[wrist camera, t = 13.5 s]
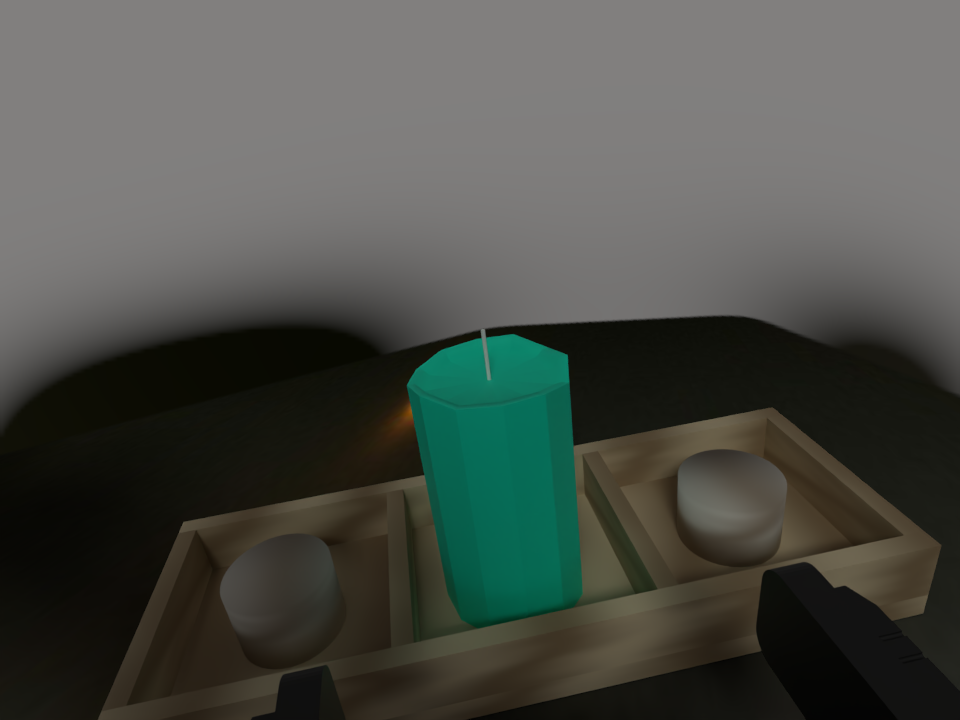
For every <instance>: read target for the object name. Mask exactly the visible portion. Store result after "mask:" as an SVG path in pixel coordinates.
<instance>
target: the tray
mask: <svg viewBox="0 0 960 720" xmlns="http://www.w3.org/2000/svg"><path fill="white" fill-rule="evenodd" d="M573 447H574V462H575V477H576V492H577V508H578V523H579V538H580V553H581V569H582V587H583V594H582V596H581V597H580V599H579V600H578V602H577V603H576V605H575V606H574V608H571V609H566V610H561V611H557V612H552V613H548V614H543V615H539V616H534V617H529V618H525V619H520V620H516V621H511V622H507V623H502V624H498V625H493V626H488V627H484V628H479V629H478V628H476V627H474V626H472V625H470V624H468V623H466V622H464V621H462V620H461V618H460V616H459V615H458V613H457V611H456V609H455V607H454V605H453V603H452V601H451V599H450V597H449V596H448V592H447V587H446V582H445V577H444V572H443V567H442V562H441V557H440V552H439V546H438V541H437V536H436V531H435V526H434V521H433V516H432V511H431V506H430V501H429V495H428V490H427V485H426V480H425V475H423V476H418V477H413V478H407V479H402V480H397V481H392V482H387V483H382V484H377V485H371V486H366V487H361V488H356V489H351V490H346V491H341V492H335V493H330V494H325V495H320V496H315V497H310V498H305V499H300V500H294V501H289V502H284V503H279V504H274V505H269V506H264V507H258V508H253V509H248V510H243V511H238V512H233V513H228V514H222V515H217V516H212V517H207V518H202V519H197V520H192V521H186V522H183V524H182V527H181V529H180V531H179V534H178V536H177V538H176V541H175V543H174V545H173V547H172V550H171V552H170V554H169V557H168V559H167V561H166V564H165V566H164V568H163V571H162V573H161V575H160V577H159V580H158V582H157V584H156V587H155V589H154V591H153V594H152V596H151V598H150V601H149V603H148V605H147V607H146V610H145V612H144V614H143V617H142V619H141V621H140V624H139V626H138V628H137V631H136V633H135V635H134V637H133V640H132V642H131V644H130V647H129V649H128V651H127V654H126V656H125V658H124V661H123V663H122V665H121V667H120V670H119V672H118V674H117V677H116V679H115V681H114V684H113V686H112V688H111V691H110V693H109V695H108V697H107V700H106V702H105V704H104V707H103V709H102V711H101V714H100V716H99V718H98V720H251V718H252V717H255V716H259V715H264V714H268V713H272V712H275V709H276V702H277V695H278V688H279V683H280V679H281V677H282V675H284V674H287V673H291V672H296V671H301V670H305V669H310V668H314V667H319V666H323V665H327V666H328V667H329V669H330V672H331V675H332V678H333V681H334V685H335V688H336V691H337V694H338V697H339V700H340V703H341V706H342V709H343V712H344V715H345V719H346V720H467V719H471V718H476V717H480V716H484V715H489V714H493V713H497V712H501V711H506V710H510V709H514V708H519V707H523V706H527V705H531V704H536V703H540V702H544V701H549V700H553V699H557V698H562V697H566V696H570V695H574V694H579V693H583V692H587V691H592V690H596V689H600V688H605V687H609V686H613V685H617V684H622V683H626V682H630V681H635V680H639V679H643V678H648V677H652V676H656V675H660V674H665V673H669V672H673V671H678V670H682V669H686V668H691V667H695V666H699V665H703V664H708V663H712V662H716V661H721V660H725V659H729V658H733V657H738V656H742V655H746V654H751V653H755V652H759V651H761V648H760V645H759V642H758V638H757V633H756V622H757V614H758V606H759V598H760V590H761V582H762V576H763V573H764V572H765V571H766V570H769V569H773V568H778V567H782V566H787V565H792V564H796V563H801V562H807V563H810V564H812V565H813V566H814V567H815V568H816V569H817V570H818V571H819V572H820V573H821V574H822V575H823V576H824V577H825V578H826V579H827V581H828V582H829V583H830V584H831V585H832V586H833V587H834V588H836V587H840V586H847V587H849V588H850V589H852V590H853V591H855V592H857V593H858V594H860V595H861V596H863V597H865V598H866V599H868V600H869V601H871V602H873V603H874V604H876V605H877V606H878V607H879V608H880V609H881V610H882V611H883V612H884V613H885V614H886V615H887V616H888V617H889V618H890V619H891V620H892V621H893V620H897V619H901V618H905V617H910V616H914V615H918V614H923V612H924V608H925V604H926V601H927V597H928V593H929V589H930V586H931V582H932V578H933V575H934V571H935V567H936V563H937V560H938V556H939V552H940V548H941V545H940V544H939V543H938V542H937V541H935V540H934V539H933V538H932V537H930V536H929V535H928V534H927V533H926V532H924V531H923V530H922V529H921V528H919V527H918V526H917V525H916V524H915V523H913V522H912V521H911V520H910V519H908V518H907V517H906V516H905V515H903V514H902V513H901V512H900V511H899V510H897V509H896V508H895V507H894V506H892V505H891V504H890V503H889V502H888V501H886V500H885V499H884V498H883V497H881V496H880V495H879V494H878V493H877V492H875V491H874V490H873V489H872V488H870V487H869V486H868V485H867V484H866V483H864V482H863V481H862V480H861V479H859V478H858V477H857V476H856V475H855V474H853V473H852V472H851V471H850V470H848V469H847V468H846V467H845V466H844V465H842V464H841V463H840V462H839V461H837V460H836V459H835V458H834V457H833V456H831V455H830V454H829V453H828V452H826V451H825V450H824V449H823V448H822V447H820V446H819V445H818V444H817V443H815V442H814V441H813V440H812V439H810V438H809V437H808V436H807V435H806V434H804V433H803V432H802V431H801V430H799V429H798V428H797V427H796V426H795V425H793V424H792V423H791V422H790V421H788V420H787V419H786V418H785V417H784V416H782V415H781V414H780V413H779V412H777V411H776V410H775V409H774V408H773V407H772V408H767V409H762V410H757V411H752V412H747V413H741V414H736V415H731V416H726V417H721V418H716V419H711V420H705V421H700V422H695V423H690V424H685V425H680V426H675V427H669V428H664V429H659V430H654V431H649V432H644V433H639V434H633V435H628V436H623V437H618V438H613V439H608V440H603V441H598V442H592V443H587V444H582V445H577V446H573Z"/></svg>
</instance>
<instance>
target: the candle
mask: <svg viewBox="0 0 960 720" xmlns="http://www.w3.org/2000/svg"><path fill="white" fill-rule="evenodd" d="M481 335H482V338H481V339H475V340H472V341H469V342H465V343H462V344H459V345H456V346H453V347H450V348H446V349H443V350H441V351H439V352H438V353H437V354H435V355H434V356H433V357H432V358H430V359H429V360H428V361H426V362H425V363H424V364H423V365H421V366H420V367H419V368H417V369H416V371H415V372H414V374H413V376H412V377H411V379H410V381H409V382H408V384H407V389H408V394H409V399H410V404H411V409H412V414H413V419H414V424H415V429H416V434H417V439H418V445H419V450H420V455H421V460H422V465H423V470H424V475H425V480H426V485H427V490H428V495H429V501H430V506H431V511H432V516H433V521H434V526H435V531H436V536H437V541H438V546H439V552H440V557H441V562H442V567H443V572H444V577H445V582H446V587H447V592H448V596H449V597H450V599H451V601H452V603H453V605H454V607H455V609H456V611H457V613H458V615H459V616H460V618H461V620H462V621H464V622H466V623H468V624H470V625H472V626H474V627H476V628H478V629H479V628H484V627H488V626H493V625H498V624H502V623H507V622H511V621H516V620H520V619H525V618H529V617H534V616H539V615H543V614H548V613H552V612H557V611H561V610H566V609H571V608H574V606H575V605H576V603H577V602H578V600H579V599H580V597H581V596H582V594H583V587H582V569H581V553H580V538H579V523H578V508H577V492H576V477H575V462H574V447H573V432H572V416H571V401H570V386H569V371H568V355H566V354H564V353H561V352H558V351H556V350H553V349H551V348H548V347H545V346H543V345H540V344H538V343H535V342H532V341H530V340H527V339H525V338H522V337H519V336H517V335H514V334H511V335H503V336H496V337H488V338H486V334H485V329H481Z"/></svg>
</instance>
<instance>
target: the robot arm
mask: <svg viewBox="0 0 960 720" xmlns="http://www.w3.org/2000/svg"><path fill="white" fill-rule="evenodd" d="M756 633H757V638H758V642H759V645H760V648H761V651H762V653H763V655H764V657H765V659H766V661H767V662H768V664H769V665H770V667H771V668H772V670H773V671H774V673H775V674H776V676H777V677H778V679H779V680H780V682H781V683H782V684H783V686H784V687H785V689H786V690H787V692H788V693H789V695H790V696H791V698H792V699H793V701H794V702H795V704H796V705H797V706H798V708H799V709H800V711H801V712H802V714H803V715H804V717H805V718H806V720H960V691H959V690H958V689H957V688H956V687H955V686H954V685H953V684H952V683H951V682H950V681H949V680H948V679H947V678H946V676H945V675H944V674H943V673H942V672H941V671H940V670H939V669H938V668H937V667H936V666H935V665H934V664H933V663H932V662H931V661H930V660H929V659H928V658H924V656H923V654H922V652H921V650H920V649H919V648H918V647H917V646H916V645H915V644H914V643H913V642H912V641H911V640H910V639H909V638H908V637H907V636H903V634H902V631H901V630H900V629H899V628H898V627H897V626H896V624H895V623H894V622H893V621H892V620H891V619H890V618H889V617H888V616H887V615H886V614H885V613H884V612H883V611H882V610H881V609H880V608H879V607H878V606H877V605H876V604H874V603H873V602H871V601H869V600H868V599H866V598H865V597H863V596H861V595H860V594H858V593H857V592H855V591H853V590H852V589H850V588H849V587H847V586H840V587H836V588H834V587H833V586H832V585H831V584H830V583H829V582H828V581H827V579H826V578H825V577H824V576H823V575H822V574H821V573H820V572H819V571H818V570H817V569H816V568H815V567H814V566H813V565H812V564H810V563H807V562H801V563H796V564H792V565H787V566H782V567H778V568H773V569H769V570H766V571H765V572H764V573H763V576H762V582H761V590H760V598H759V606H758V614H757V622H756ZM251 720H346V719H345V715H344V712H343V709H342V706H341V703H340V700H339V697H338V694H337V691H336V688H335V685H334V681H333V678H332V675H331V672H330V669H329V667H328V666H327V665H323V666H319V667H314V668H310V669H305V670H301V671H296V672H291V673H287V674H284V675H282V677H281V679H280V683H279V688H278V695H277V702H276V709H275V712H272V713H268V714H264V715H259V716H255V717H252V718H251Z"/></svg>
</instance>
